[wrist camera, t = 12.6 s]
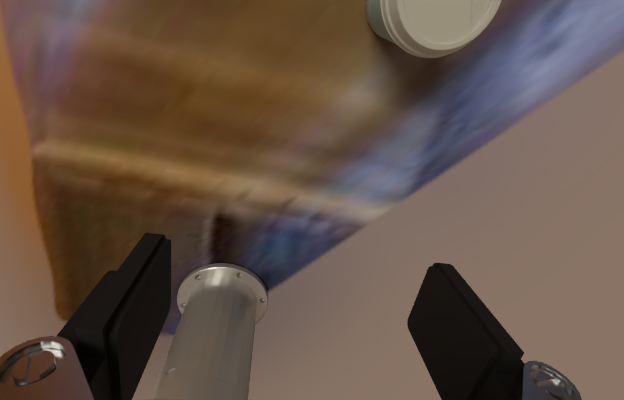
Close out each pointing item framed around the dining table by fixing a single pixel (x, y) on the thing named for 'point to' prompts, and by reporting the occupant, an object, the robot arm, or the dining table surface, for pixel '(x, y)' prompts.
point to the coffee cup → (430, 23)
